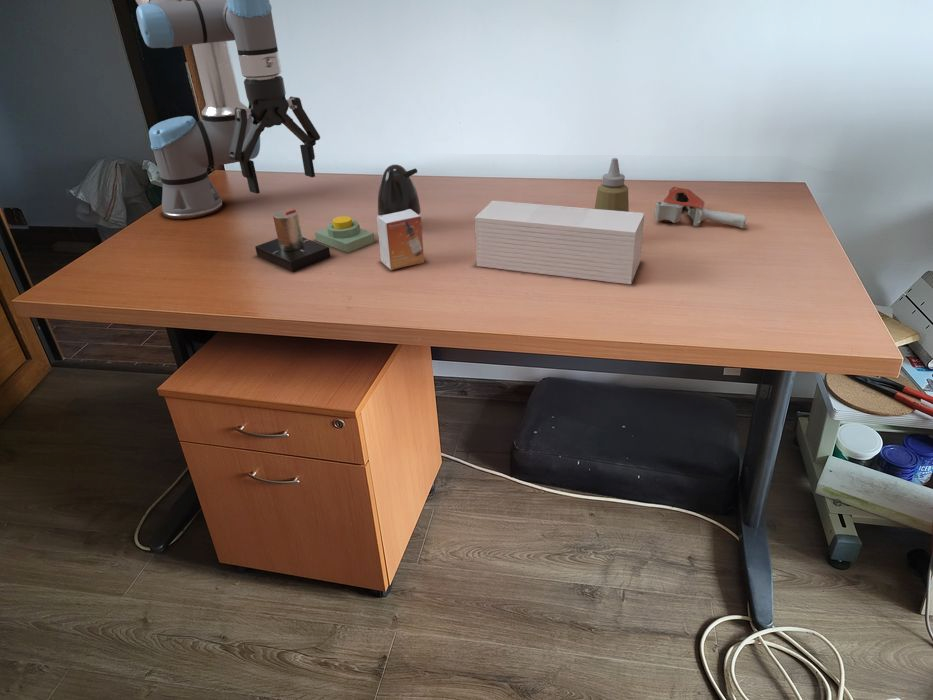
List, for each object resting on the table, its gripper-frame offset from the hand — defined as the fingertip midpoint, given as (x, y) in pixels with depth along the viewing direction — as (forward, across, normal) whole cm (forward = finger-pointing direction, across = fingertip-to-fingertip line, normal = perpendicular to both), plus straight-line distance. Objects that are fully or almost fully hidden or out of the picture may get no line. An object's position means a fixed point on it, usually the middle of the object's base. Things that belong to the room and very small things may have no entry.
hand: (283, 184), depth 141 cm
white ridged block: (+17, +32, -48) cm, 60 cm away
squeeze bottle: (+17, +50, -49) cm, 72 cm away
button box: (+16, +12, -2) cm, 21 cm away
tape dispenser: (+17, +71, -58) cm, 93 cm away
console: (+16, -1, 0) cm, 16 cm away
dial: (+14, -1, 0) cm, 14 cm away
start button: (+13, +12, -2) cm, 18 cm away
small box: (+17, +12, -22) cm, 30 cm away
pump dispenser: (+17, +26, -5) cm, 32 cm away
